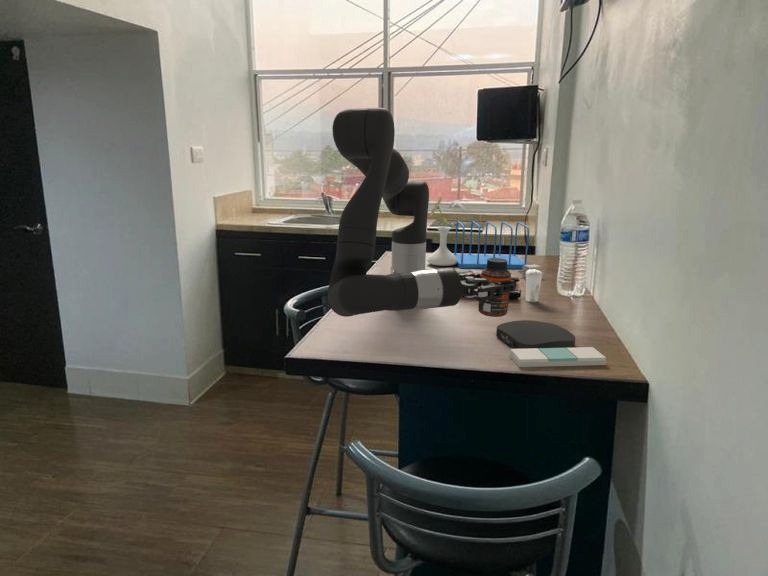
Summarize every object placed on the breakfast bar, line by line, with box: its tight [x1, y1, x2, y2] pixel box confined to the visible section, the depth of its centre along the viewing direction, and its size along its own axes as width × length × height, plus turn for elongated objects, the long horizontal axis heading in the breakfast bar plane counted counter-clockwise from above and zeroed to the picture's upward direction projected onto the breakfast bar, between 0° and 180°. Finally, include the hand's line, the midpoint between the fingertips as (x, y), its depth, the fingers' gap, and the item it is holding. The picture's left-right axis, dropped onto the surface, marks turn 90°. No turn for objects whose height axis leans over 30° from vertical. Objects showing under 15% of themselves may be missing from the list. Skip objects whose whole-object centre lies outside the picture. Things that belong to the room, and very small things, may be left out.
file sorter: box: [452, 220, 530, 270], centre depth 202 cm, size 25×17×15 cm
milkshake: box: [525, 267, 547, 303], centre depth 154 cm, size 4×5×10 cm
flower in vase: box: [426, 196, 458, 267], centre depth 196 cm, size 13×11×25 cm
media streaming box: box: [495, 319, 576, 349], centre depth 123 cm, size 15×15×3 cm
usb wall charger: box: [516, 264, 541, 279], centre depth 183 cm, size 4×7×4 cm, turn 109°
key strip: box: [509, 346, 607, 368], centre depth 112 cm, size 18×6×2 cm, turn 95°
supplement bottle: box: [478, 258, 512, 318], centre depth 111 cm, size 6×6×11 cm
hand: (505, 281), depth 111 cm, fingers closed on supplement bottle, 6 cm apart
